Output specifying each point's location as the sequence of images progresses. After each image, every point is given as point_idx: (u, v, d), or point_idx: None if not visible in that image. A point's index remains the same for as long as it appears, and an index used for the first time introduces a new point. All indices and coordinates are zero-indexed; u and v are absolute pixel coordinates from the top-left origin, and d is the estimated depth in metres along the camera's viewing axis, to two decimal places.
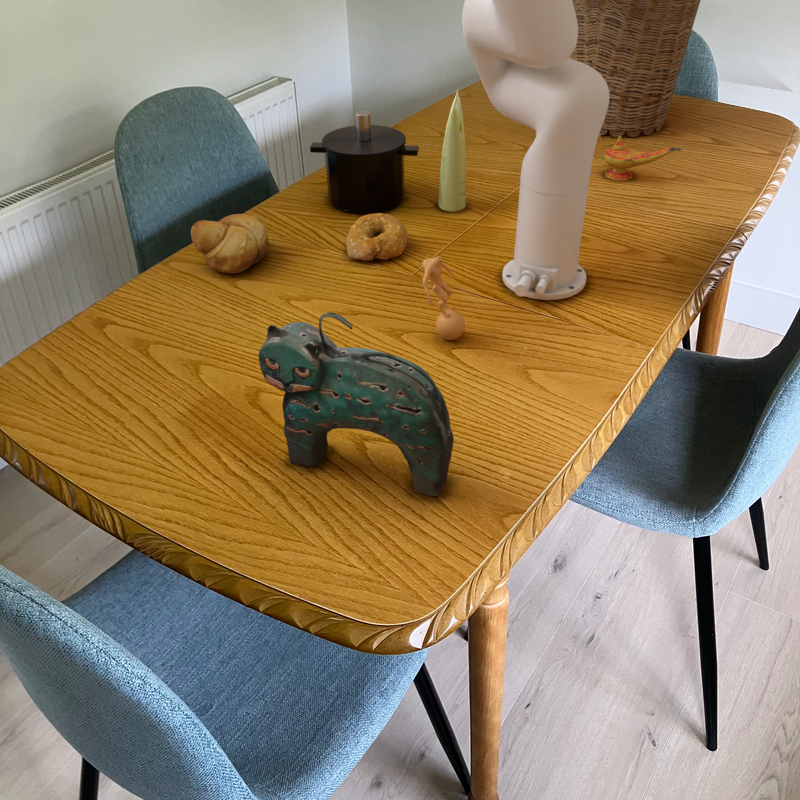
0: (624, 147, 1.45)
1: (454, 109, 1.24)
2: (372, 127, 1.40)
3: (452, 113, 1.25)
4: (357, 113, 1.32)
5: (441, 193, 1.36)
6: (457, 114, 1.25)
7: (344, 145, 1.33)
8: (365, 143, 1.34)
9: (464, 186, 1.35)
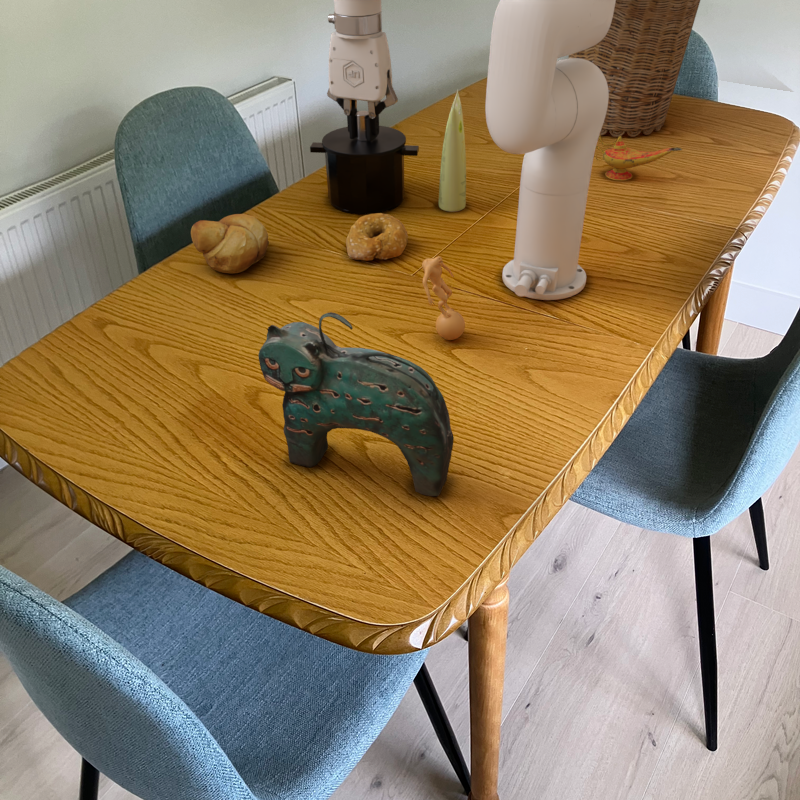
0: (624, 147, 1.45)
1: (454, 109, 1.24)
2: None
3: (452, 113, 1.25)
4: (357, 113, 1.32)
5: (441, 193, 1.36)
6: (457, 114, 1.25)
7: (344, 145, 1.33)
8: (365, 143, 1.34)
9: (464, 186, 1.35)
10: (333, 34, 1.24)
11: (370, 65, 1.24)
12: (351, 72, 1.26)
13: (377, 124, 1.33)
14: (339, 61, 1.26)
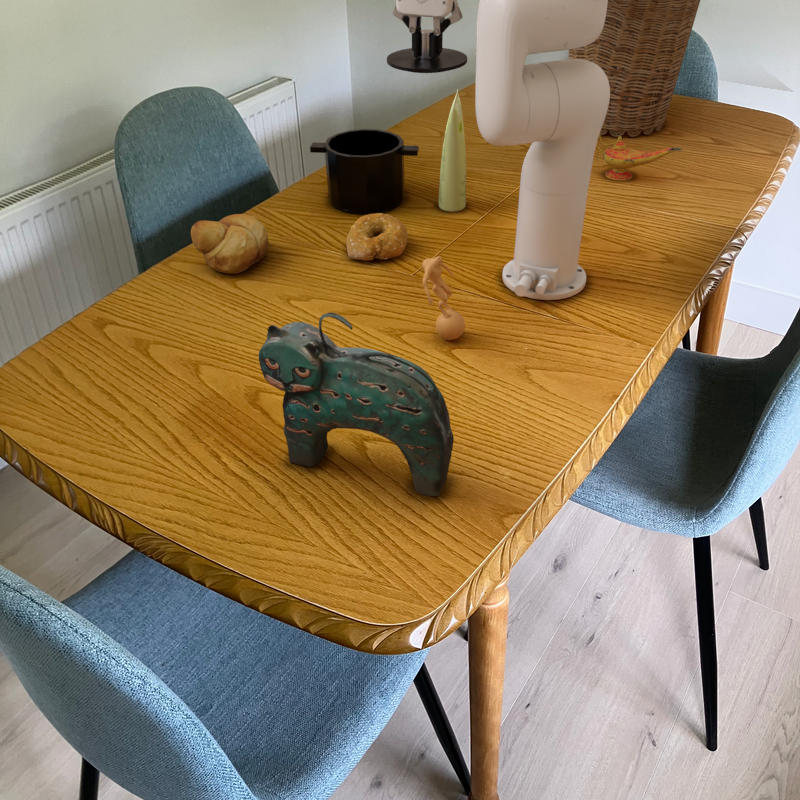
0: (624, 147, 1.45)
1: (454, 109, 1.24)
2: None
3: (452, 113, 1.25)
4: (422, 31, 1.38)
5: (441, 193, 1.36)
6: (457, 114, 1.25)
7: (409, 62, 1.38)
8: (429, 60, 1.39)
9: (464, 186, 1.35)
10: None
11: None
12: None
13: (440, 41, 1.38)
14: None
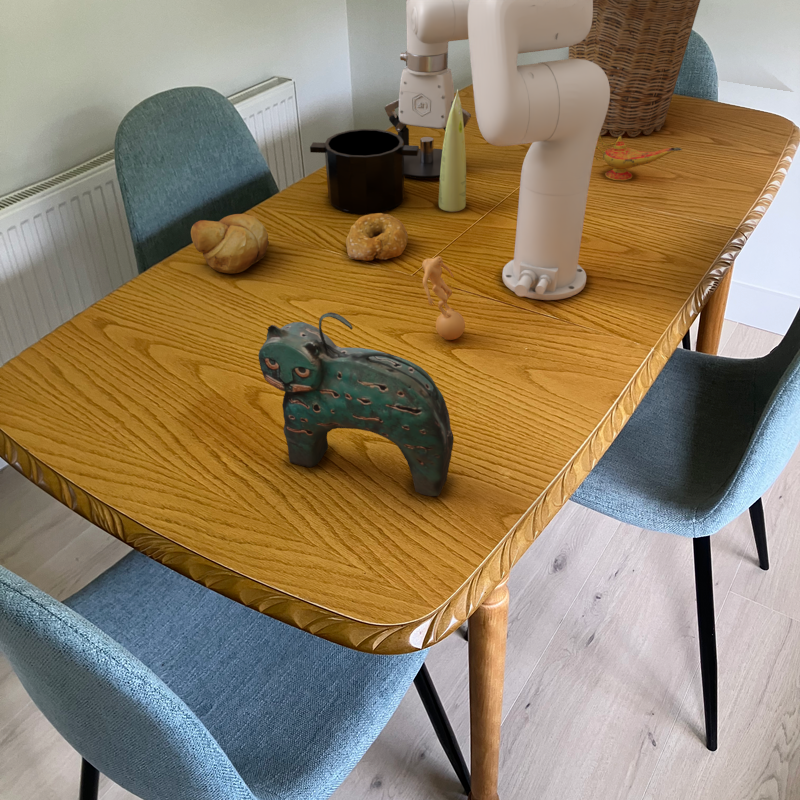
0: (624, 147, 1.45)
1: (454, 109, 1.24)
2: (432, 150, 1.57)
3: (452, 113, 1.25)
4: (422, 139, 1.50)
5: (441, 193, 1.36)
6: (457, 114, 1.25)
7: (410, 167, 1.51)
8: (428, 165, 1.51)
9: (464, 186, 1.35)
10: (404, 70, 1.42)
11: (437, 97, 1.42)
12: (419, 103, 1.44)
13: None
14: (409, 94, 1.43)
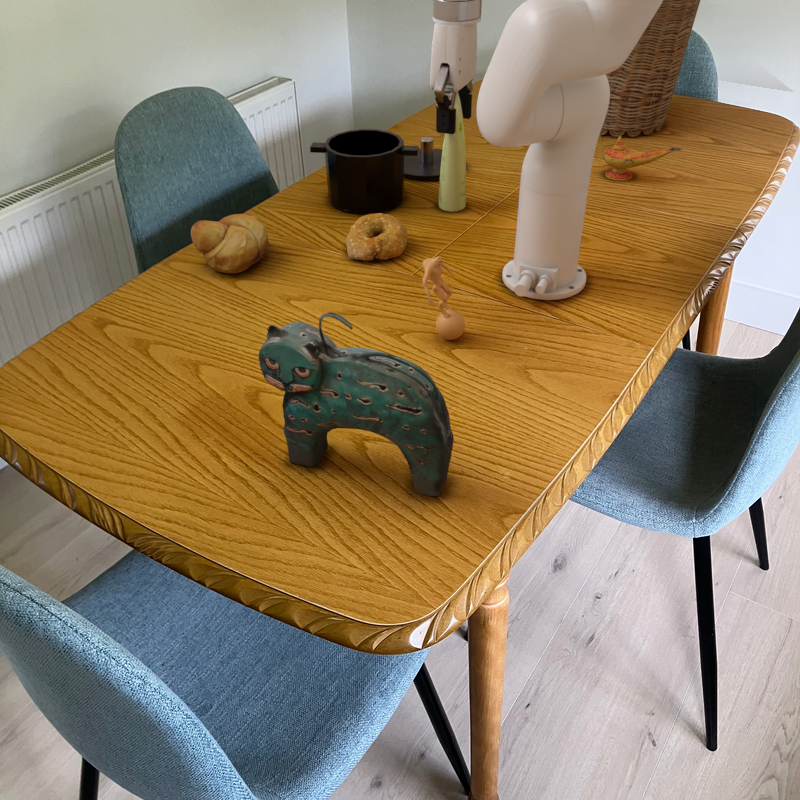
0: (624, 147, 1.45)
1: None
2: (432, 150, 1.57)
3: None
4: (422, 139, 1.50)
5: (441, 193, 1.36)
6: (457, 114, 1.25)
7: (410, 167, 1.51)
8: (428, 165, 1.51)
9: (464, 186, 1.35)
10: None
11: None
12: None
13: (443, 117, 1.24)
14: None
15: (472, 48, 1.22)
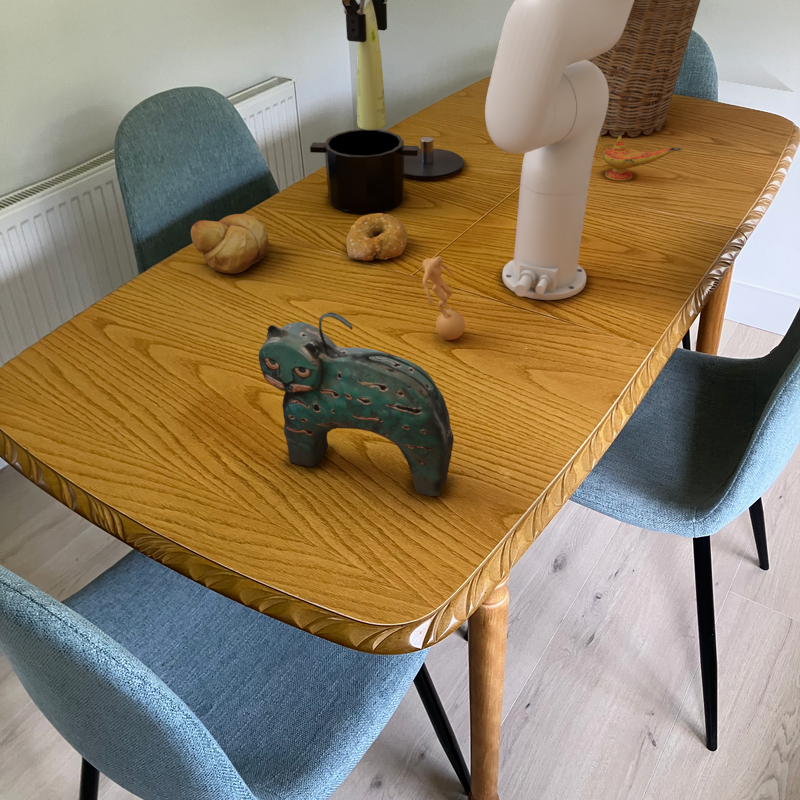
0: (624, 147, 1.45)
1: None
2: (432, 150, 1.57)
3: None
4: (422, 139, 1.50)
5: (358, 110, 1.31)
6: (368, 21, 1.20)
7: (410, 167, 1.51)
8: (428, 165, 1.51)
9: (382, 102, 1.30)
10: None
11: None
12: None
13: (353, 23, 1.19)
14: None
15: None
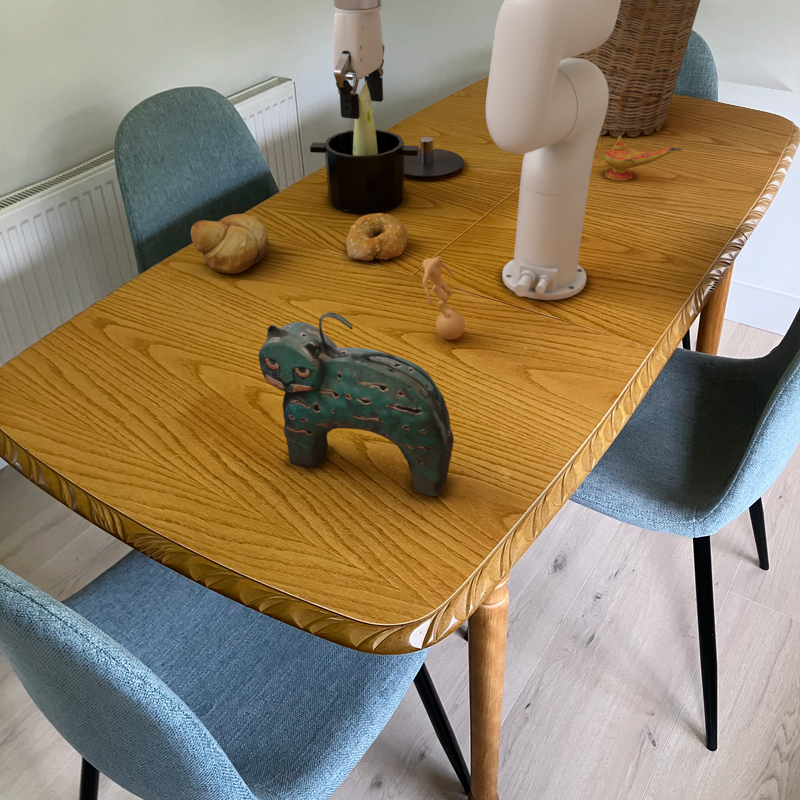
0: (624, 147, 1.45)
1: (360, 99, 1.28)
2: (432, 150, 1.57)
3: None
4: (422, 139, 1.50)
5: None
6: (363, 104, 1.29)
7: (410, 167, 1.51)
8: (428, 165, 1.51)
9: None
10: None
11: None
12: None
13: (346, 102, 1.26)
14: None
15: (375, 37, 1.25)
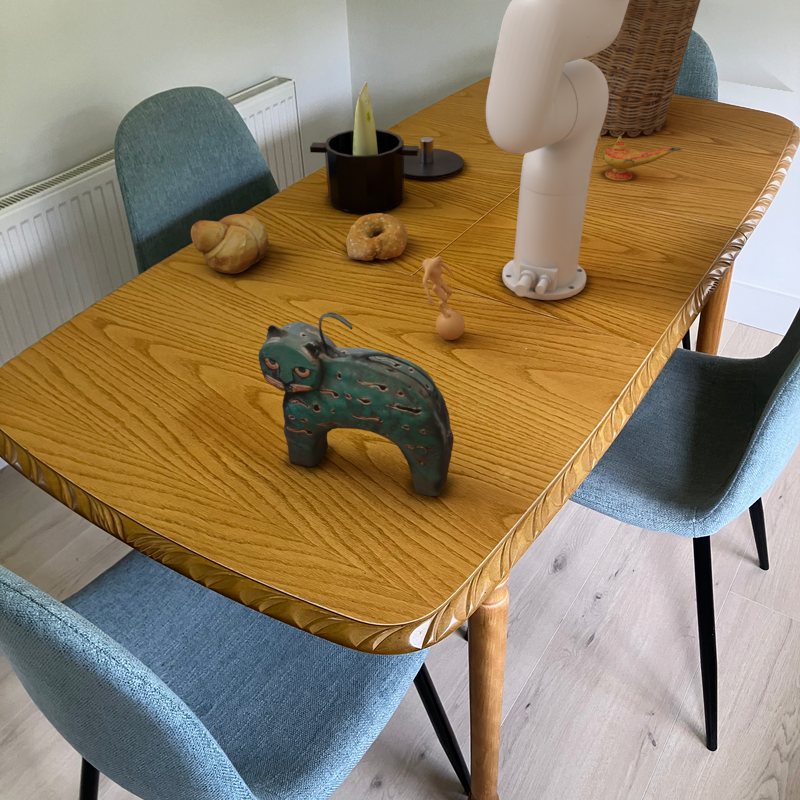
0: (624, 147, 1.45)
1: (360, 99, 1.28)
2: (432, 150, 1.57)
3: (358, 103, 1.28)
4: (422, 139, 1.50)
5: None
6: (363, 104, 1.29)
7: (410, 167, 1.51)
8: (428, 165, 1.51)
9: None
10: None
11: None
12: None
13: None
14: None
15: None
